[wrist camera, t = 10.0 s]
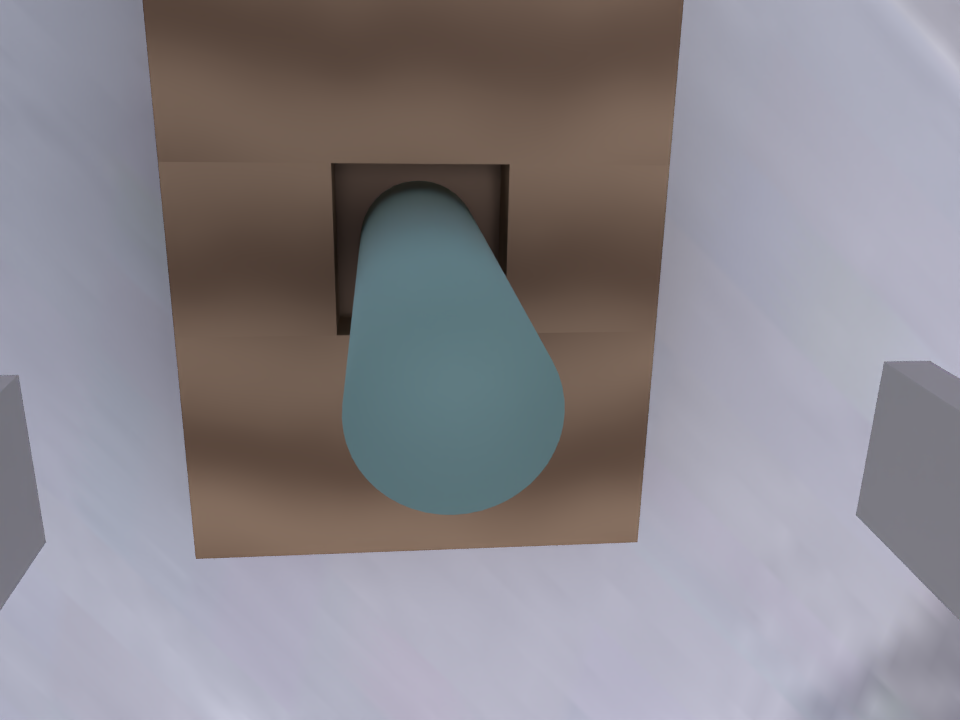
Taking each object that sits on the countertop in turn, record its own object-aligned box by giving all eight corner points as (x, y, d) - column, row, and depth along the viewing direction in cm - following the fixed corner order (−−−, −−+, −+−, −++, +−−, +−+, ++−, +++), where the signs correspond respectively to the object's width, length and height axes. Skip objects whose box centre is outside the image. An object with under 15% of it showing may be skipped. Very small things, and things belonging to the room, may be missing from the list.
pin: (359, 180, 30) (338, 308, 15) (477, 180, 31) (570, 306, 16) (362, 295, 32) (345, 518, 17) (475, 294, 32) (559, 511, 17)
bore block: (154, -123, 27) (128, -142, 25) (663, -103, 29) (693, -119, 26) (211, 517, 35) (195, 558, 32) (617, 503, 36) (637, 541, 33)
